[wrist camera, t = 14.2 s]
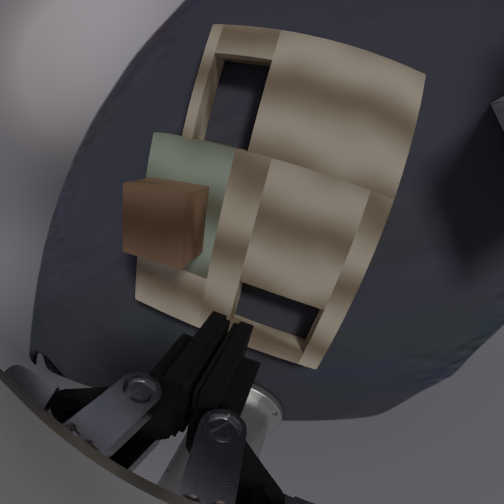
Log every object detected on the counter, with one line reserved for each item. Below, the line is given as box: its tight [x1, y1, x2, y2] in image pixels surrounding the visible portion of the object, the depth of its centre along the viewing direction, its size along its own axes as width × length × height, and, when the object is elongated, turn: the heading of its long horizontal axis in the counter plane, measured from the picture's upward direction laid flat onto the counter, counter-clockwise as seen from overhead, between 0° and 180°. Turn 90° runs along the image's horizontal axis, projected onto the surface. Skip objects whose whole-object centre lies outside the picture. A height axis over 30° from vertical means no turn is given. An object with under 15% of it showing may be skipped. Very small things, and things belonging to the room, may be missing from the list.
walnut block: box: [122, 177, 209, 269], centre depth 22 cm, size 6×6×4 cm
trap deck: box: [135, 24, 426, 369], centre depth 23 cm, size 29×21×2 cm
